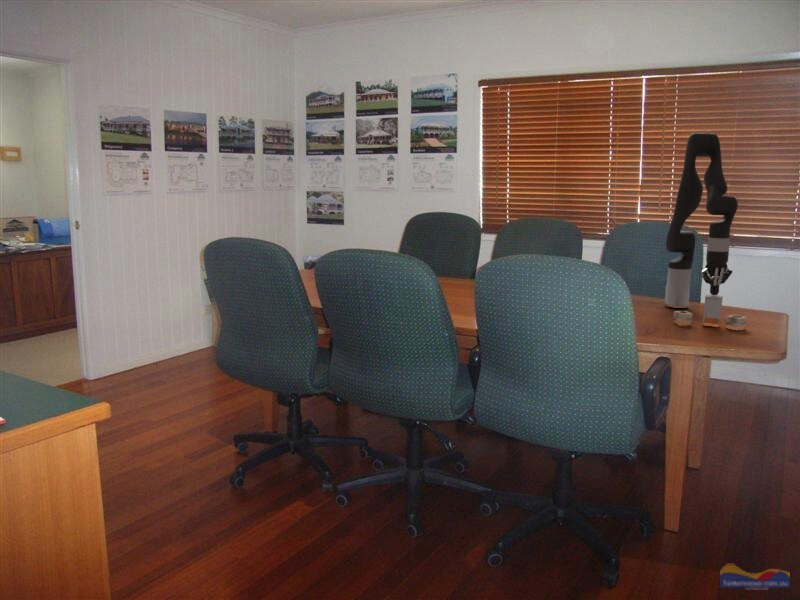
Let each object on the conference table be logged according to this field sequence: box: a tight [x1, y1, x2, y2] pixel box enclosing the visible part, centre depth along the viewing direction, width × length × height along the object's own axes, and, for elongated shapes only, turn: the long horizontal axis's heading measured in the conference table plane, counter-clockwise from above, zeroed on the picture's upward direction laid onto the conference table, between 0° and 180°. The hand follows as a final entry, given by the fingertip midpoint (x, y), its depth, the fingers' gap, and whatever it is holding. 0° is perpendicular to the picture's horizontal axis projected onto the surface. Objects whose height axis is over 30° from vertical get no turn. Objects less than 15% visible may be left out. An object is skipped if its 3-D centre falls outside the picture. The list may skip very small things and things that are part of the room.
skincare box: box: [702, 294, 724, 325], centre depth 256 cm, size 6×4×12 cm
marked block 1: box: [673, 310, 693, 323], centre depth 260 cm, size 5×5×5 cm
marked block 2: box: [725, 314, 748, 327], centre depth 252 cm, size 5×5×5 cm
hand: (714, 294), depth 255 cm, fingers closed
